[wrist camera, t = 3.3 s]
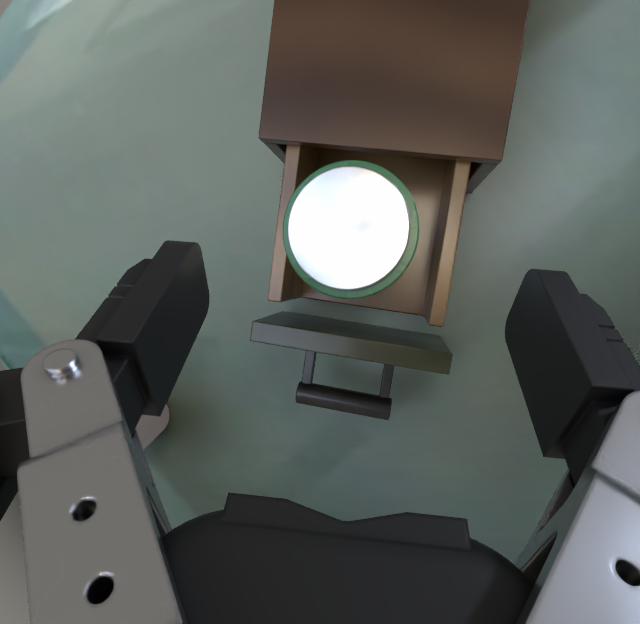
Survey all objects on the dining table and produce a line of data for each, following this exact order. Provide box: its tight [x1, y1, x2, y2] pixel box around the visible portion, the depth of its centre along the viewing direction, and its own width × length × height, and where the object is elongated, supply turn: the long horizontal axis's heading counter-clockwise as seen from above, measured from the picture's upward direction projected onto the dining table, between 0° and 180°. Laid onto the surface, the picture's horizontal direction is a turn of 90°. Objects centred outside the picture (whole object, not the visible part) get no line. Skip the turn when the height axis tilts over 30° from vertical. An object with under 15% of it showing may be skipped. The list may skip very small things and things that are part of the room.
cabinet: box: [259, 0, 531, 193], centre depth 25 cm, size 16×13×9 cm
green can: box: [282, 160, 419, 299], centre depth 22 cm, size 5×5×13 cm
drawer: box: [250, 145, 471, 420], centre depth 27 cm, size 19×11×7 cm, turn 172°
